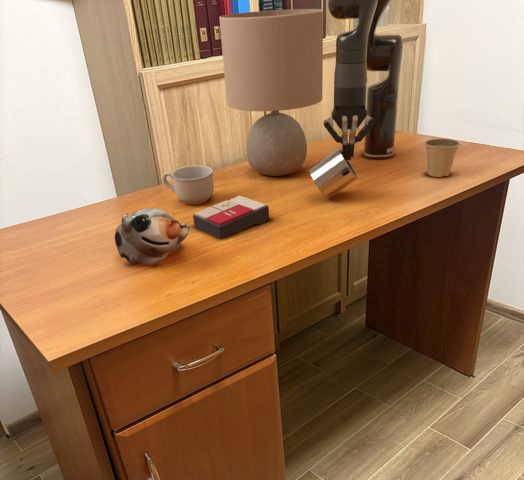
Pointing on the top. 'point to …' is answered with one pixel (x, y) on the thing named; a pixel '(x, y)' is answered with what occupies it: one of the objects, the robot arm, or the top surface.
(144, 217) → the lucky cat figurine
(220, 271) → the top surface
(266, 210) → the flat box
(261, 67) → the lamp
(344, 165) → the pot
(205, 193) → the teacup
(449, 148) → the flower pot
